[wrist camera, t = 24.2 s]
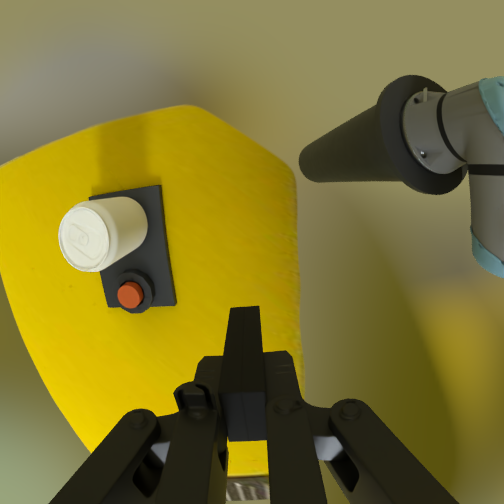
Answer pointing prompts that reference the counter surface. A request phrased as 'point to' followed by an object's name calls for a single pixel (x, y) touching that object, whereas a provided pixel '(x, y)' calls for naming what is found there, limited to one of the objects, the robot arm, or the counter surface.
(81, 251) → the beverage can
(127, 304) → the button
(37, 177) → the counter surface
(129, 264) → the warming base
